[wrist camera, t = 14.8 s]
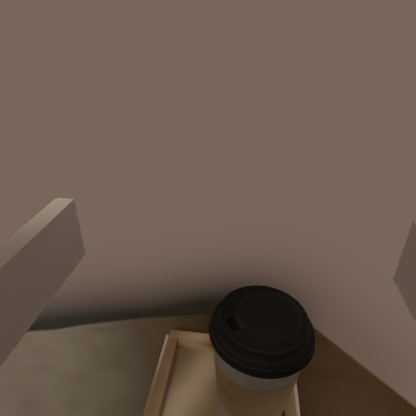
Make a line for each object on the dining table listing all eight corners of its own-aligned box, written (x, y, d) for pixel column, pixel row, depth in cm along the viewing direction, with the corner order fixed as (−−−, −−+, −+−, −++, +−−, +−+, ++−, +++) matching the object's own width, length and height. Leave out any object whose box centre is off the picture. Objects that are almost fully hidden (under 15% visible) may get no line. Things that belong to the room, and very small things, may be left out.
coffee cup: (187, 416, 36) (187, 313, 29) (242, 363, 42) (253, 267, 35) (257, 491, 31) (278, 386, 24) (309, 417, 37) (338, 316, 30)
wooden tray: (291, 355, 45) (294, 339, 43) (309, 516, 30) (315, 500, 28) (166, 339, 46) (166, 324, 45) (124, 485, 31) (121, 469, 30)
